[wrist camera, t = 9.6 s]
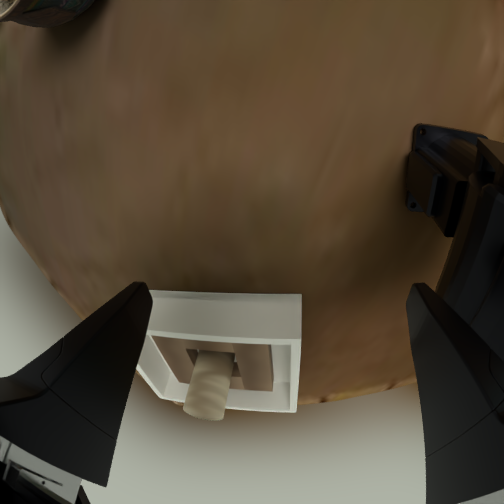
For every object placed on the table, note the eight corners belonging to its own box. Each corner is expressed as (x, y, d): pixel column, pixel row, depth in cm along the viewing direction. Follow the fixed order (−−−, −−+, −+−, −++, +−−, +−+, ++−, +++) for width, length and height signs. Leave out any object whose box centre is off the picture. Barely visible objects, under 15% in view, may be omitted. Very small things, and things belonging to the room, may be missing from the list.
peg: (233, 339, 29) (219, 408, 23) (238, 359, 32) (226, 422, 25) (196, 337, 30) (178, 402, 24) (205, 357, 32) (189, 417, 26)
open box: (301, 293, 25) (301, 339, 21) (297, 378, 35) (296, 412, 31) (125, 288, 28) (105, 323, 24) (169, 368, 38) (159, 398, 34)
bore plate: (268, 316, 26) (266, 333, 25) (273, 377, 33) (272, 391, 32) (151, 310, 28) (145, 325, 27) (182, 369, 35) (179, 382, 34)
